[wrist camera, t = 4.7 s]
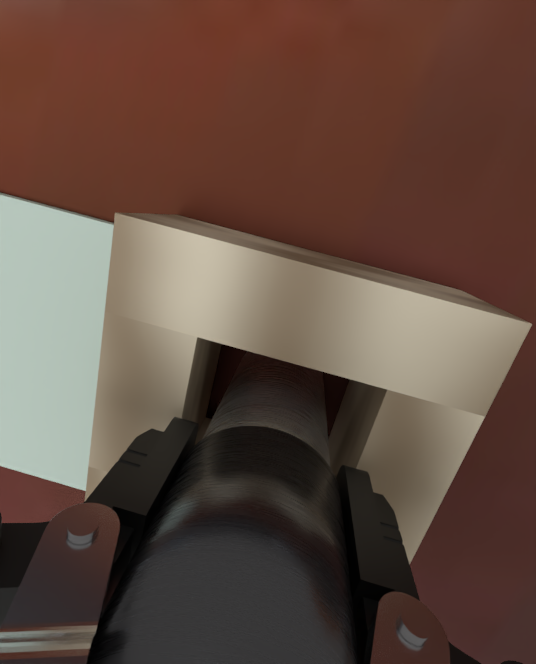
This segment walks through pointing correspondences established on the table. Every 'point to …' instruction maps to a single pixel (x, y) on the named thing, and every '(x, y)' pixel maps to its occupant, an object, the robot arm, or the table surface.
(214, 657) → the steel peg
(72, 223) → the sage mat
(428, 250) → the table surface
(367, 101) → the table surface
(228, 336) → the eye block
